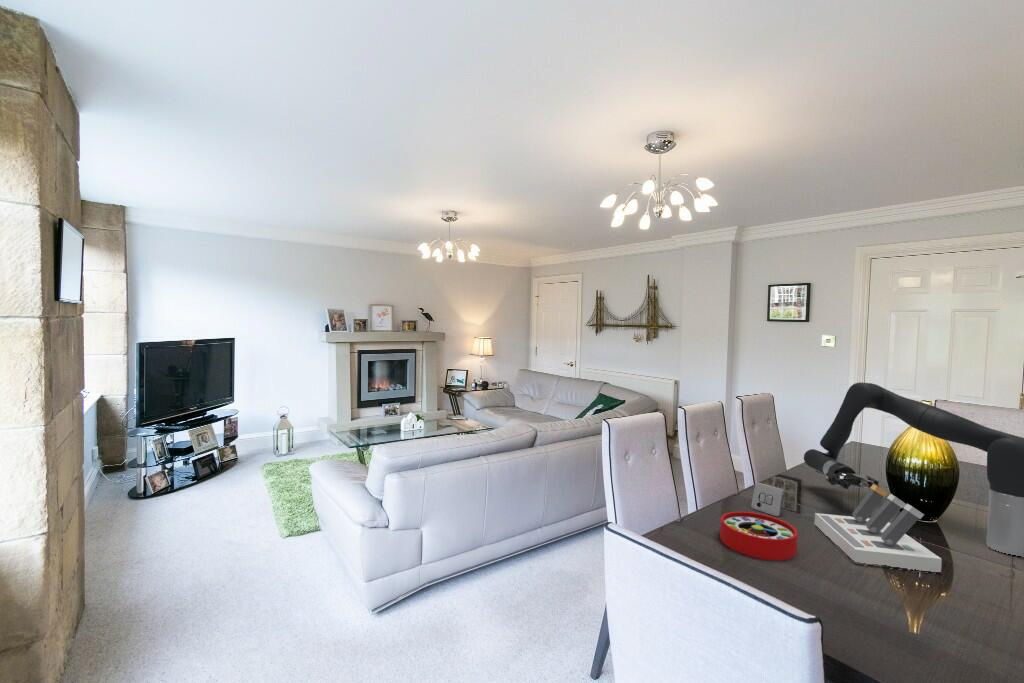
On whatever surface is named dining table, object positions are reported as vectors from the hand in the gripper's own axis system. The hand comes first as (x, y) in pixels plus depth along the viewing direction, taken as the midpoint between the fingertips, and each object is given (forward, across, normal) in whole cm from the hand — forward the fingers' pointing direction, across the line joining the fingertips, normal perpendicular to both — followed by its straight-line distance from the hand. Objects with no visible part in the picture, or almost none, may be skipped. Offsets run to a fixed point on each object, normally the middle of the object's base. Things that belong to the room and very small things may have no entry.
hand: (862, 487), depth 155 cm
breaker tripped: (+11, -6, +6) cm, 14 cm away
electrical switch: (-4, -27, +12) cm, 30 cm away
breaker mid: (+19, -6, +6) cm, 21 cm away
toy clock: (+25, -38, +12) cm, 48 cm away
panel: (+19, -6, +12) cm, 23 cm away
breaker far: (+27, -6, +6) cm, 28 cm away
